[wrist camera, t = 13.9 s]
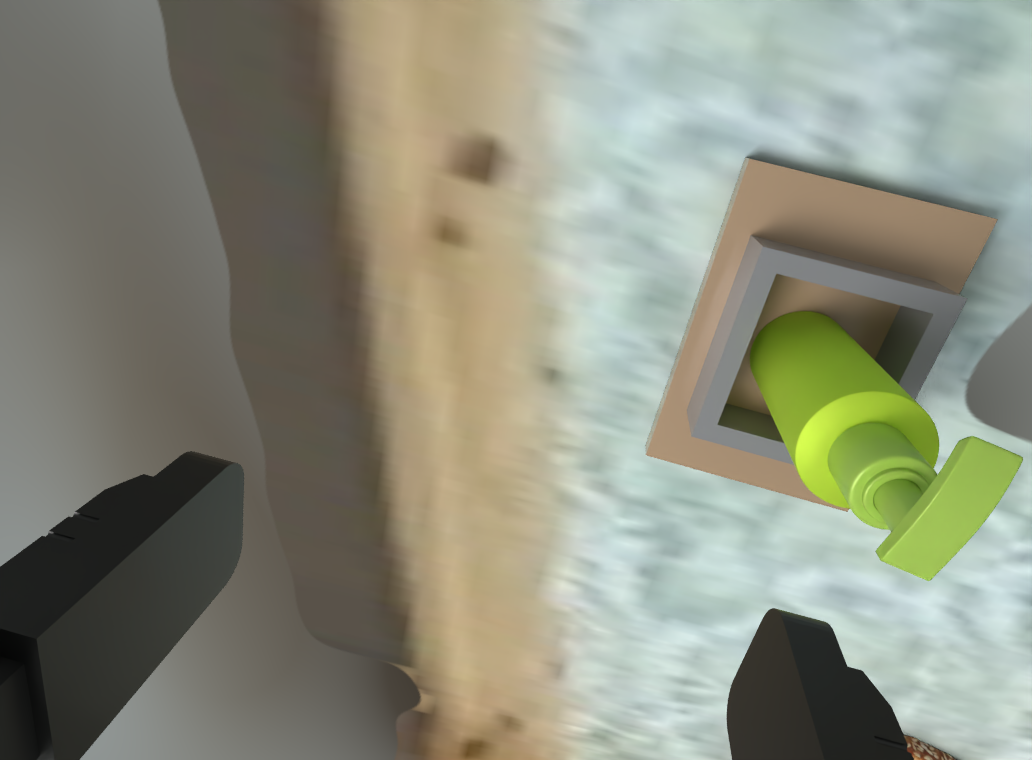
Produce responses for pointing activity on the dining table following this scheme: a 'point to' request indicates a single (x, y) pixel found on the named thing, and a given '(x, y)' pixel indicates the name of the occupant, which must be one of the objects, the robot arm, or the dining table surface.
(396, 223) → the dining table surface
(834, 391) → the soap dispenser
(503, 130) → the dining table surface
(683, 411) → the soap caddy
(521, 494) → the dining table surface
